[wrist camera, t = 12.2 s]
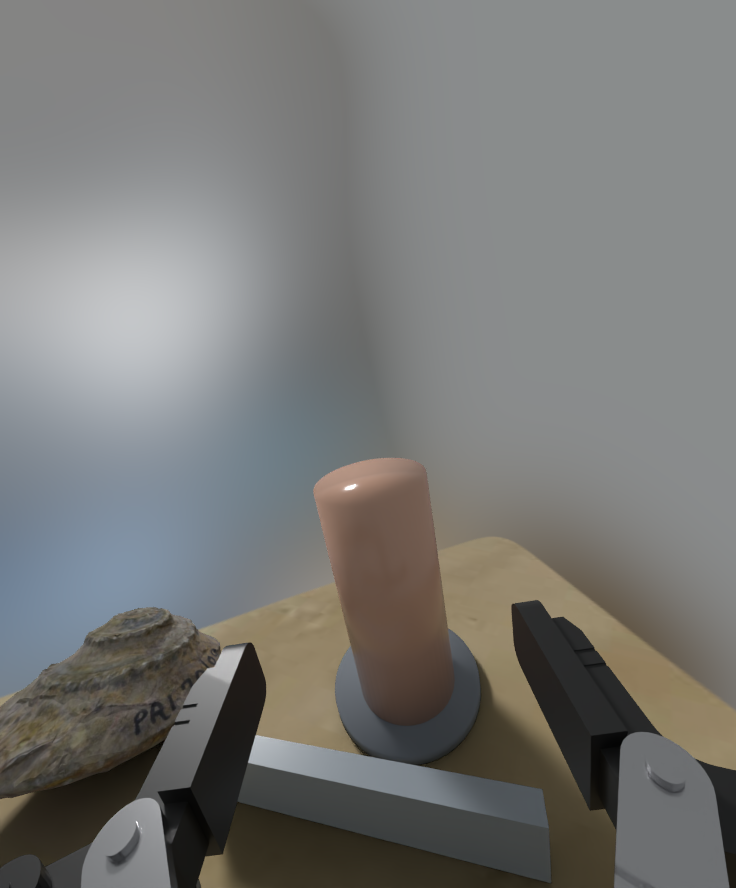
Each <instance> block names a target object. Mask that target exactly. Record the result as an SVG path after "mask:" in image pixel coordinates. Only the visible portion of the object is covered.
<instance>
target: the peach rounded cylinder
mask: <svg viewBox="0 0 736 888" xmlns="http://www.w3.org/2000/svg"><path fill="white" fill-rule="evenodd" d="M313 492H314V497H315V501H316V504H317V509H318V513H319V517H320V521H321V525H322V530H323V534H324V538H325V542H326V546H327V550H328V554H329V558H330V562H331V566H332V571H333V575H334V579H335V583H336V587H337V591H338V595H339V599H340V603H341V608H342V612H343V616H344V620H345V624H346V628H347V632H348V636H349V640H350V644H351V649H352V653H353V657H354V661H355V665H356V669H357V673H358V677H359V681H360V685H361V690H362V694H363V697H364V699H365V701H366V703H367V705H368V706H369V708H370V709H371V710H372V711H373V712H374V713H375V714H376V715H377V716H378V717H380V718H381V719H383V720H385V721H386V722H389V723H392V724H395V725H401V726H412V725H417V724H421V723H424V722H427V721H429V720H430V719H432V718H434V717H435V716H437V715H438V714H439V713H440V712H441V711H442V710H443V709H444V708H445V706H446V705H447V704H448V702H449V700H450V698H451V696H452V693H453V689H454V683H455V677H454V668H453V661H452V654H451V647H450V639H449V632H448V625H447V618H446V610H445V603H444V596H443V589H442V581H441V574H440V567H439V560H438V552H437V545H436V538H435V531H434V524H433V517H432V509H431V502H430V495H429V488H428V481H427V473H426V469H425V468H424V466H423V465H421V464H420V463H418V462H416V461H412V460H409V459H402V458H380V459H372V460H366V461H361V462H357V463H353V464H350V465H347V466H344V467H341V468H339V469H337V470H334V471H332V472H331V473H329V474H327V475H326V476H324V477H323V478H321V479H320V480H319V481H318V482H317V484H316V485H315V487H314V491H313Z"/></svg>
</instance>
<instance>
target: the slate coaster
mask: <svg viewBox="0 0 736 888" xmlns="http://www.w3.org/2000/svg"><path fill="white" fill-rule="evenodd" d="M448 632H449V639H450V647H451V654H452V661H453V668H454V677H455V683H454V689H453V693H452V696H451V698H450V700H449V702H448V704H447V705H446V706H445V708H444V709H443V710H442V711H441V712H440V713H439V714H438V715H437V716H435V717H434V718H432V719H430V720H429V721H427V722H424V723H421V724H417V725H412V726H401V725H395V724H392V723H389V722H386V721H385V720H383V719H381V718H380V717H378V716H377V715H376V714H375V713H374V712H373V711H372V710H371V709H370V708H369V706H368V705H367V703H366V701H365V699H364V697H363V694H362V690H361V685H360V681H359V677H358V673H357V669H356V665H355V661H354V657H353V653H352V649H351V646H350V647H349V649H348V650H347V652H346V653H345V655H344V657H343V658H342V661H341V663H340V665H339V668H338V672H337V676H336V682H335V696H336V703H337V707H338V711H339V714H340V718H341V721H342V723H343V725H344V728H345V729H346V731H347V733H348V734H349V736H350V737H351V739H352V740H353V741H354V742H355V744H356V745H358V746H359V747H360V748H361V749H362V750H363V751H364V752H366V753H367V754H369V755H370V756H372V757H374V758H379V759H385V760H390V761H395V762H401V763H406V764H411V765H420V764H425V763H429V762H432V761H434V760H437V759H439V758H441V757H443V756H445V755H446V754H448V753H449V752H451V751H452V750H453V749H455V748H456V747H457V746H458V745H459V744H460V743H461V742H462V741H463V740H464V739H465V737H466V736H467V735H468V733H469V732H470V730H471V728H472V726H473V724H474V722H475V720H476V717H477V714H478V711H479V706H480V700H481V688H480V679H479V672H478V668H477V664H476V662H475V659H474V657H473V655H472V653H471V651H470V650H469V648H468V647H467V645H466V644H465V643H464V641H463V640H462V639H461V638H460V637H459V636H458V635H456V634H455V633H454V632H453V631H451V630H450V629H448Z"/></svg>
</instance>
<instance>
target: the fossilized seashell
mask: <svg viewBox="0 0 736 888" xmlns="http://www.w3.org/2000/svg"><path fill="white" fill-rule="evenodd" d="M220 654H221V650H220V643H219V642H218V641H217V640H216V639H215V638H213V637H211V636H209V635H206V634H204V633H201V632H199V631H198V630H197V629H196V627H195V625H194V624H193V623H192V621H191V620H189V619H186V618H183V617H181V616H175V615H172V614H171V613H170V612H169V611H168V610H165V609H162V608H161V609H158V608H155V607H153V608H138V609H134V610H132V611H128V612H124V613H121V614H118V615H116V616H114V617H113V618H112V619H111V620H110V621H108V622H107V623H106V624H104V625H103V626H101V627H99V628H97V629H95V630H94V631H92V632H89V633H88V635H87V636H86V638H85V641H84V644H83V645H82V646H81V647H80V649H78V650H77V652H76V653H75V654H73V655H72V656H70V657H69V658H67V659H65V660H64V661H62V662H60V663H56V664H51V665H50V666H49V667H48V669H45V670H43V671H42V672H41V674H40V675H39V676H38V678H36V679H35V680H34V681H33V682H32V683H31V684H29V685H28V686H27V687H26V688H24V689H23V690H21V691H20V692H18V693H16V694H15V695H14V696H13V697H11V698H10V699H9V700H8V701H6V702H5V703H4V704H3V705H2V706H0V799H2V798H13V797H17V796H20V795H24V794H27V793H31V792H36V791H41V790H46V789H52V788H57V787H60V786H63V785H67V784H70V783H73V782H75V781H78V780H81V779H84V778H86V777H89V776H92V775H94V774H97V773H102V772H107V771H109V770H111V769H112V768H114V767H116V766H117V765H119V764H121V763H123V762H125V761H127V760H129V759H131V758H133V757H135V756H137V755H139V754H140V753H142V752H144V751H146V750H148V749H150V748H152V747H154V746H155V745H157V744H159V743H160V742H162V741H163V740H165V739H166V738H167V736H168V734H169V732H170V730H171V728H172V726H174V725H175V720H176V718H177V716H178V714H179V712H180V710H181V709H183V704H184V702H185V700H186V698H187V696H188V694H189V692H190V690H191V688H192V686H193V685H194V684H195V682H196V681H197V680H198V679H199V678H200V677H201V675H202V674H203V673H204V672H205V671H206V670H207V668H213V667H215V665H216V663H217V661H218V659H219V657H220Z"/></svg>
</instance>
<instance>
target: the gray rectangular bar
mask: <svg viewBox="0 0 736 888" xmlns="http://www.w3.org/2000/svg"><path fill="white" fill-rule="evenodd" d="M237 802H240V803H244V804H248V805H252V806H256V807H260V808H263V809H267V810H271V811H275V812H279V813H283V814H286V815H290V816H294V817H298V818H302V819H306V820H309V821H313V822H317V823H321V824H325V825H329V826H333V827H336V828H340V829H344V830H348V831H352V832H356V833H359V834H363V835H367V836H371V837H375V838H379V839H383V840H386V841H390V842H394V843H398V844H402V845H406V846H409V847H413V848H417V849H421V850H425V851H429V852H432V853H436V854H440V855H444V856H448V857H452V858H456V859H459V860H463V861H467V862H471V863H475V864H479V865H482V866H486V867H490V868H494V869H498V870H502V871H506V872H509V873H513V874H517V875H521V876H525V877H529V878H532V879H536V880H540V881H544V882H548V883H551V864H550V841H549V826H548V820H547V814H546V808H545V802H544V796H543V791H542V789H539V788H533V787H528V786H523V785H517V784H512V783H507V782H501V781H496V780H491V779H486V778H480V777H475V776H470V775H464V774H459V773H454V772H448V771H443V770H438V769H432V768H427V767H422V766H417V765H411V764H406V763H401V762H395V761H390V760H385V759H379V758H374V757H369V756H363V755H358V754H353V753H347V752H342V751H337V750H332V749H326V748H321V747H316V746H310V745H305V744H300V743H294V742H289V741H284V740H278V739H273V738H268V737H263V736H257V735H256V736H255V739H254V743H253V747H252V750H251V754H250V757H249V761H248V765H247V768H246V772H245V775H244V779H243V783H242V786H241V790H240V794H239V797H238V801H237Z"/></svg>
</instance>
